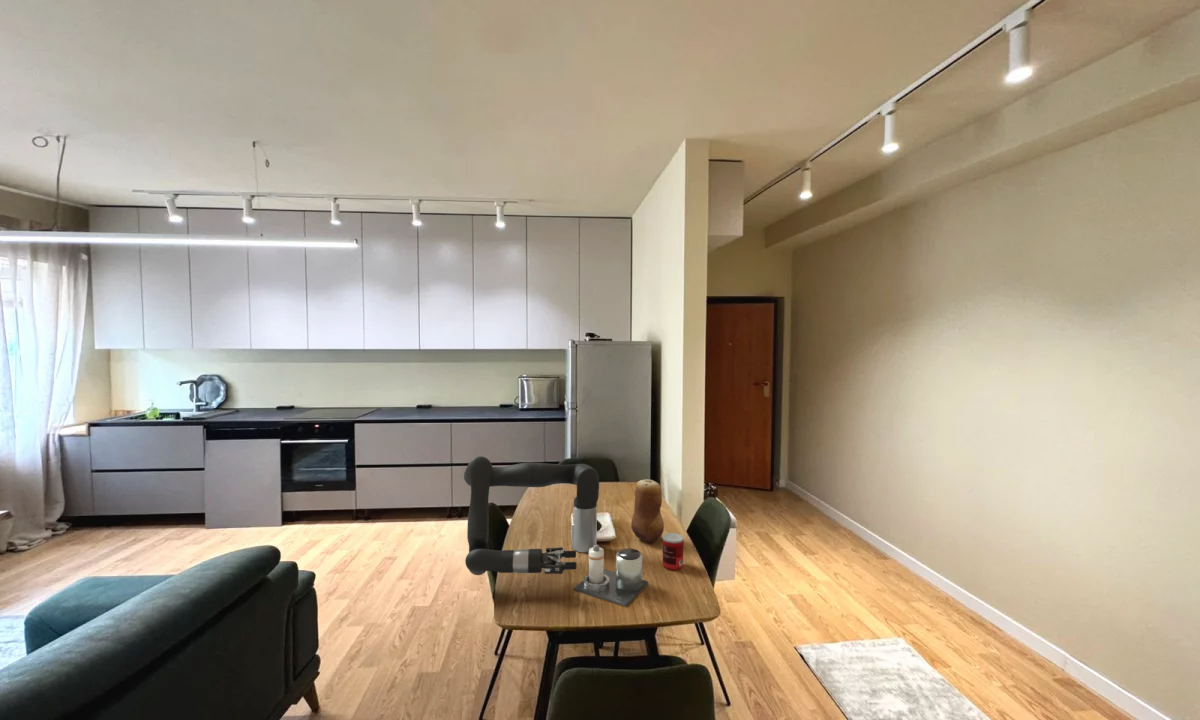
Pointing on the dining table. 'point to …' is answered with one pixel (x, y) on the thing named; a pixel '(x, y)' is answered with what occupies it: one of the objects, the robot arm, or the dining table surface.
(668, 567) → the canned food
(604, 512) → the dining table surface
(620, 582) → the grey tray with jar
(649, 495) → the butternut squash
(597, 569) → the bottle
